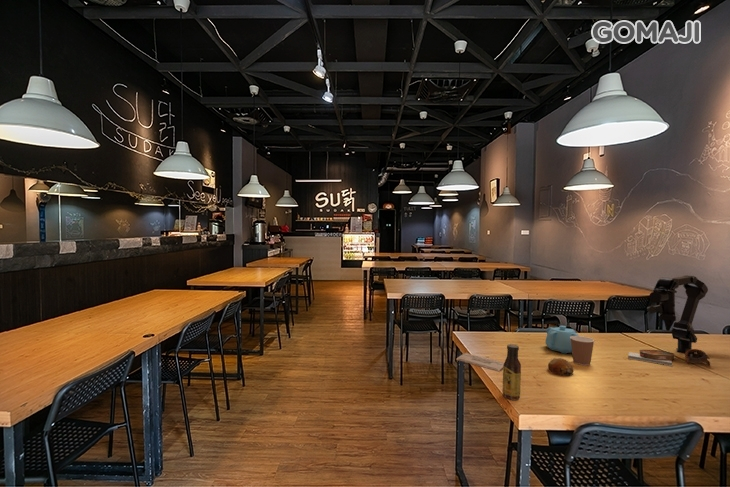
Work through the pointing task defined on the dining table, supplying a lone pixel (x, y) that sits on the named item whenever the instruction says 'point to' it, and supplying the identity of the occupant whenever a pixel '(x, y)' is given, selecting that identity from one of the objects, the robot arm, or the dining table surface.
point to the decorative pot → (560, 339)
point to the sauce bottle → (512, 373)
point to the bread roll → (560, 367)
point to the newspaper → (481, 361)
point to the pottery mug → (696, 356)
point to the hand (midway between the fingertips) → (667, 330)
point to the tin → (657, 354)
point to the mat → (638, 357)
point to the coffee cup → (582, 349)
